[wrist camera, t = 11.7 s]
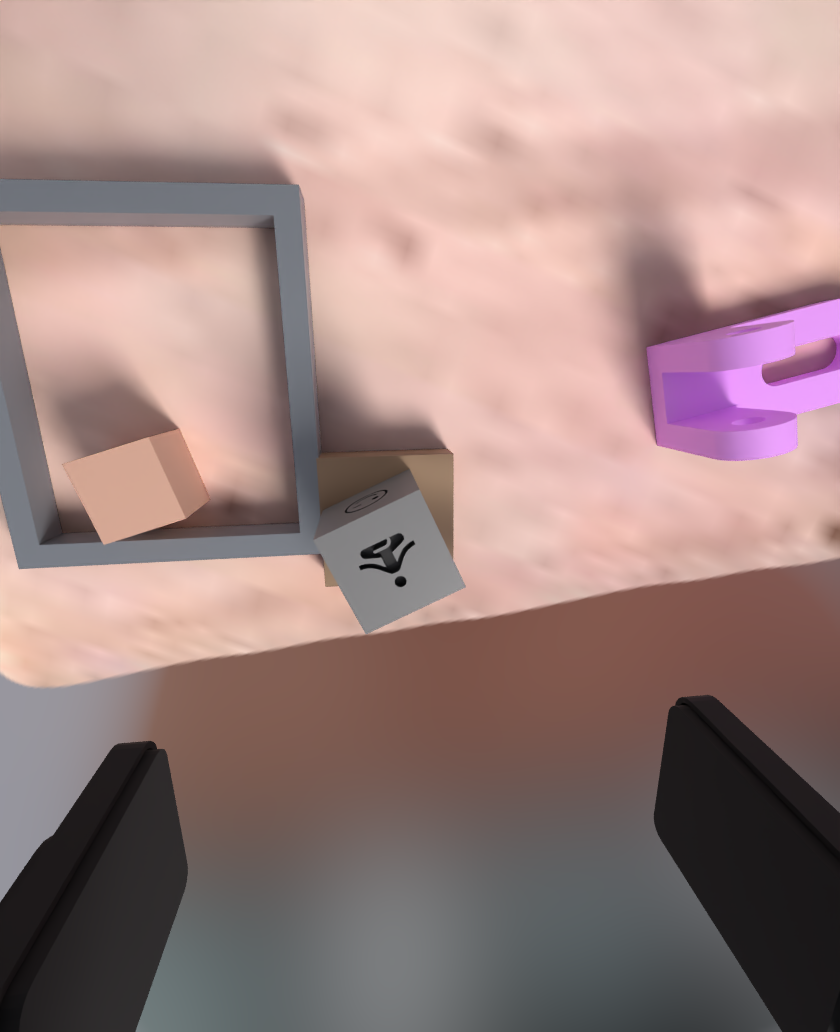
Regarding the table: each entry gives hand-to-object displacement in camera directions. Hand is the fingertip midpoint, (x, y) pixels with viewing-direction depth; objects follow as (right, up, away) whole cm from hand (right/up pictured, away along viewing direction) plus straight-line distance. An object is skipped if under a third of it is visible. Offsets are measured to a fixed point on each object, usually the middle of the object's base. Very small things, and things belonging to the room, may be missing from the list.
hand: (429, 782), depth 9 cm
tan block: (-2, +5, +19) cm, 20 cm away
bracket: (+19, +13, +20) cm, 31 cm away
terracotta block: (-14, +7, +17) cm, 24 cm away
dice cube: (-2, +4, +18) cm, 18 cm away
